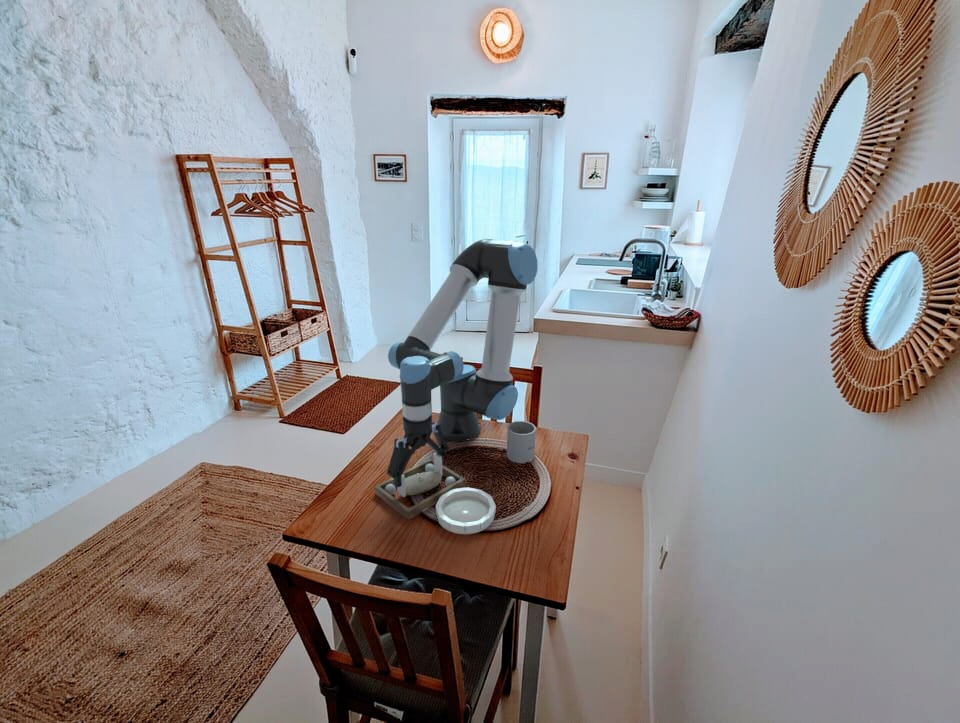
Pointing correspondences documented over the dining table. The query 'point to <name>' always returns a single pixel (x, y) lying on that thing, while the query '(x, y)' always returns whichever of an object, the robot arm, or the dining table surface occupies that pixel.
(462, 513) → the bowl
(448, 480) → the pebble
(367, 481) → the dining table surface
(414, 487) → the stone
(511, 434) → the mug
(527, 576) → the dining table surface
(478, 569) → the dining table surface
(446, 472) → the parts frame
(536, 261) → the robot arm
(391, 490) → the pebble
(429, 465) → the pale glossy ball
